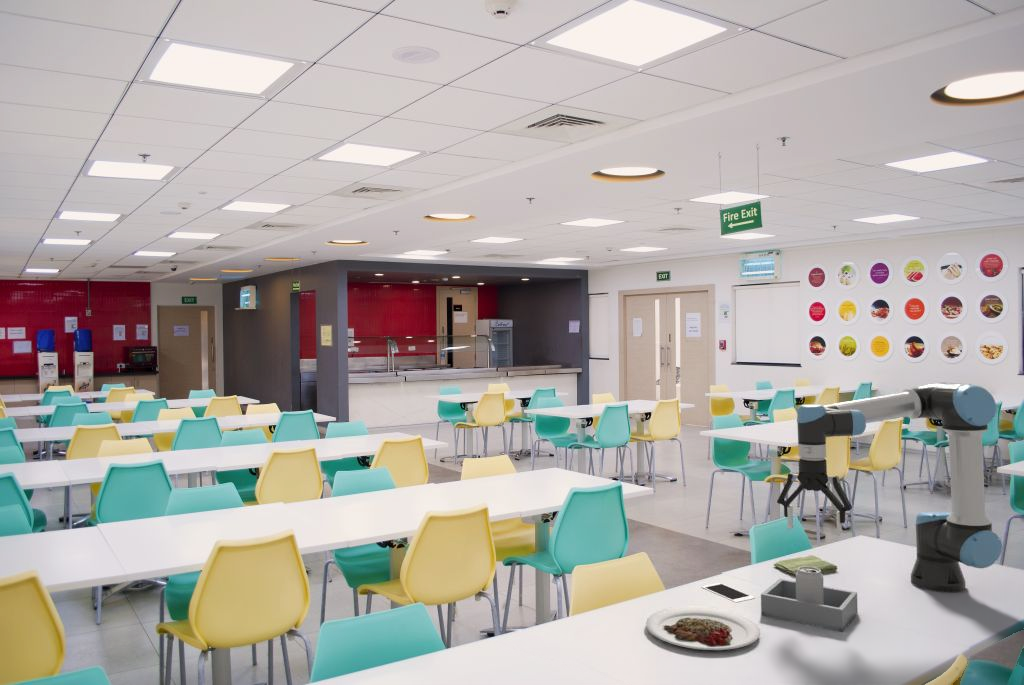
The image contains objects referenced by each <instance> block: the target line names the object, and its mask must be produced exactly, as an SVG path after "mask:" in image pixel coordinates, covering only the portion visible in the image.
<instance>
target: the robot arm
mask: <svg viewBox="0 0 1024 685" xmlns="http://www.w3.org/2000/svg"><path fill="white" fill-rule="evenodd" d="M996 414H997V404H996V401H995V398H994V396H993V395H992V394H991V392H990V391H988V390H987V389H986V388H985V387H982V386H979V385H974V384H972V383H969V384H967V383H952V382H936V383H931V384H926V385H921V386H915V387H910V388H909V387H908V388H905V389H903V390H902V391H901V392H900V393H892V394H887V395H881V396H875V397H870V398H869V397H867V398H863V399H857V400H856V399H855V400H851V401H849V400H848V401H843V402H838V403H837V402H836V403H831V404H826V405H823V404H801V405H800V406H798V407H797V415H796V423H797V449H798V457H799V459H798V474H797V473H794V472H793V471H792V472H790V473H788V474H787V480H786V482H785V485H784V487H783V489H782V490H781V492H780V495H779V496H778V498H777V501H776V502H777V504H778V505H779V504H780V505H782V506H783V516H784V518H787V530H792V529H793V528H794V512H793V511H794V509H793V505H791V503H792V502H793V501H794V500H795V499H796V498H797V496H799V495H800V493H801V492H802V491H803V490H804V489H805V490H806V491H809V492H810V491H814V492H819V491H820V492H821V493H823V494H824V495H825V496H826V498H828V500H829V501H830V502H831V503H832V505H833V506H834V507H835V508H836V509H837V511H836V512H835V513H836V515H835V516H836V535H837V536H841V535H842V534H843V524H845V522H846V512H847V511H848V512H849V511H851V510H852V509H853V506H852V504H851V501H850V500H849V498H848V496H847V495H846V493H845V491H844V489H843V486H842V485H841V483H840V482H841V481H840V477H839V476H838V475H835V476H828V470H827V459H825V458H827V442H826V441H827V438H830V437H831V438H832V437H833V438H834V437H854V436H860V435H863V434H864V432H865V431H866V428H867V424H871V423H876V422H882V421H883V422H884V421H890V420H895V419H899V418H900V419H901V418H906V417H907V418H909V419H911V420H915V419H935V420H941V423H942V424H941V427H942V430H943V431H944V432H945V433H946V434H947V435H948V450H949V477H950V479H949V480H950V496H951V497H950V498H951V500H950V501H951V511H923V512H919V513H918V514H917V515H916V518H915V538H916V542H915V543H916V544H915V545H916V559H915V562H914V565H913V568H912V570H911V573H910V583H911V584H912V585H913V586H916V587H918V588H921V589H924V590H926V591H927V590H929V591H932V592H937V593H938V592H941V593H959V592H963V591H964V590H966V580H965V579H966V578H965V577H964V574H963V571H962V569H961V565H960V563H961V564H963V565H965V566H967V567H972V568H976V569H986V568H989V567H991V566H993V565H994V564H995V562H997V561H998V560H999V559H1000V556H1001V554H1002V552H1003V543H1002V539H1001V538H1000V536H998V534H997V533H996V532H995V531H993V524H992V523H993V522H992V520H991V519H990V518H989V517H988V516H987V515H986V503H985V501H986V499H985V482H984V481H985V480H984V478H985V477H984V455H983V435H984V434H985V433H986V432H987V431H988V424H990V423H991V422H992V421H993V418H995V416H996ZM796 480H797V481H799V483H800V485H798V486H797V488H796V489H795V490H794V491H793V492H792V493H791V495H790V496H789V497H788V498H787V496H788V493H789V491H790V489H791V487H792V485H793V484H794V482H795V481H796ZM828 482H830V485H832V486H833V488H834V489H835V492H836V494H837V496H838V497H839V499H838V497H837V496H836V495H835V494H834V493H833V492H832V490H831V489H830V487H828V485H827V483H828ZM786 498H787V499H786Z"/></svg>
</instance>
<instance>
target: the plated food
mask: <svg viewBox="0 0 1024 685" xmlns="http://www.w3.org/2000/svg"><path fill="white" fill-rule="evenodd" d="M645 624H646V625H645V626H646V629H647V631H648V632H649V633H650V634H651V635H653V636H654V637H655V638H657V639H659V640H661V641H664V642H666V643H668V644H672V645H675V646H679V647H683V648H688V649H692V650H704V651H724V650H733V649H734V650H735V649H739V648H743V647H746V646H749V645H751V644H753V643H755V642H756V641H757V640H758V639H759V638H760V636H761V629H760V627H759V626H758V624H757V623H756V622H754V621H753V620H752V619H750V618H749V617H746V616H744V615H742V614H740V613H738V612H734V611H731V610H727V609H723V608H717V607H710V606H700V605H699V606H698V605H697V606H695V605H689V606H688V605H687V606H675V607H669V608H664V609H661V610H657V611H656V612H654V613H652V614H650V616H649V617H647V618H646V621H645Z"/></svg>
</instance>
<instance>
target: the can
mask: <svg viewBox="0 0 1024 685" xmlns="http://www.w3.org/2000/svg"><path fill="white" fill-rule="evenodd" d="M820 572H821V570H820V569H818V568H815V567H808V566H803V567H799V568H798V571H797V572H796V575H795V581H796V600H801V601H806V602H811V603H817V604H822V605H824V587H825V586H824V574H821V573H820ZM823 586H824V587H823Z"/></svg>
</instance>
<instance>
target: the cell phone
mask: <svg viewBox="0 0 1024 685" xmlns="http://www.w3.org/2000/svg"><path fill="white" fill-rule="evenodd" d="M701 588H702V589H704V590H706V591H708V592H711V593H713V594H715V595H717V596H720V597H723V598H725V599H727V600H729V601H731V602H732V603H733V602H734V603H742V602H745V601H750V600H753V599H755V598H756V597H754V596H753V595H750V594H747V593H745V592H744V591H740V590H738V589H736V588H733V587H731V586H728V585H726V584H724V583H722V582H716V583H712V584H707V585H703V586H702V585H701Z"/></svg>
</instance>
